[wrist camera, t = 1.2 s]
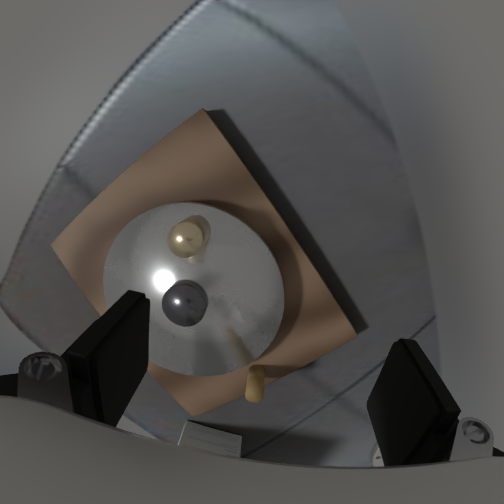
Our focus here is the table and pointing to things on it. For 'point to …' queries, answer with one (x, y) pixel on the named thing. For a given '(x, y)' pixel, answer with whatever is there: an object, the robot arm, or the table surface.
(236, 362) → the flange plate
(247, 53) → the table surface
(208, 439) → the supplement box
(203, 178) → the base board
